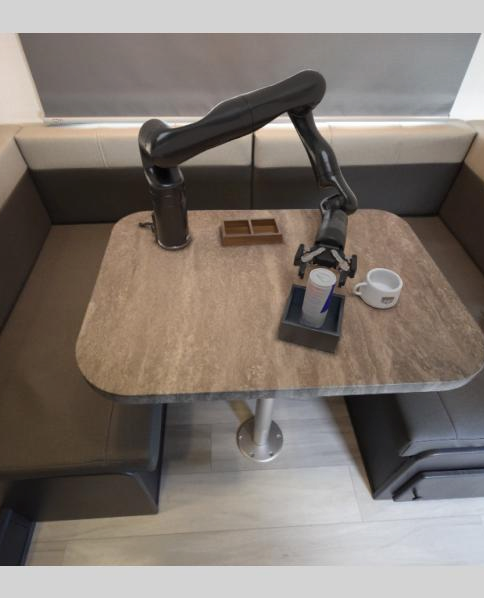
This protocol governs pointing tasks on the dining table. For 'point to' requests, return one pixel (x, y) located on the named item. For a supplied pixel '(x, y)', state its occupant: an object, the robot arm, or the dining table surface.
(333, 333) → the dark gray square box
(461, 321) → the dining table surface
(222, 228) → the wooden divided tray
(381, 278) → the mug
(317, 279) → the beverage can
